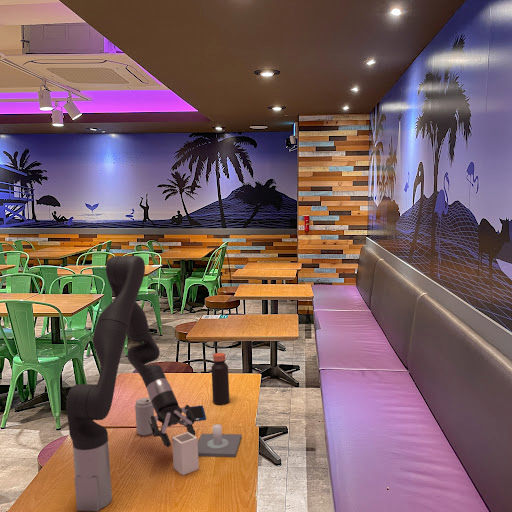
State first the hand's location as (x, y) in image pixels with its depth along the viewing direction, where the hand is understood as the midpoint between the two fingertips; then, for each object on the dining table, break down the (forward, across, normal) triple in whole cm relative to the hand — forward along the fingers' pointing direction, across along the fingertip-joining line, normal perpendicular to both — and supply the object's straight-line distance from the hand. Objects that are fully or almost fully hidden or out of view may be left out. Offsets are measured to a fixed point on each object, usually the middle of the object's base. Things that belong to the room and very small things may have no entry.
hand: (181, 441), depth 160 cm
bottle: (-19, +38, +30) cm, 52 cm away
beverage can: (-15, +2, +27) cm, 31 cm away
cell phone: (-16, +24, +28) cm, 41 cm away
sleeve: (+7, 0, +4) cm, 8 cm away
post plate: (+3, +16, +8) cm, 18 cm away
